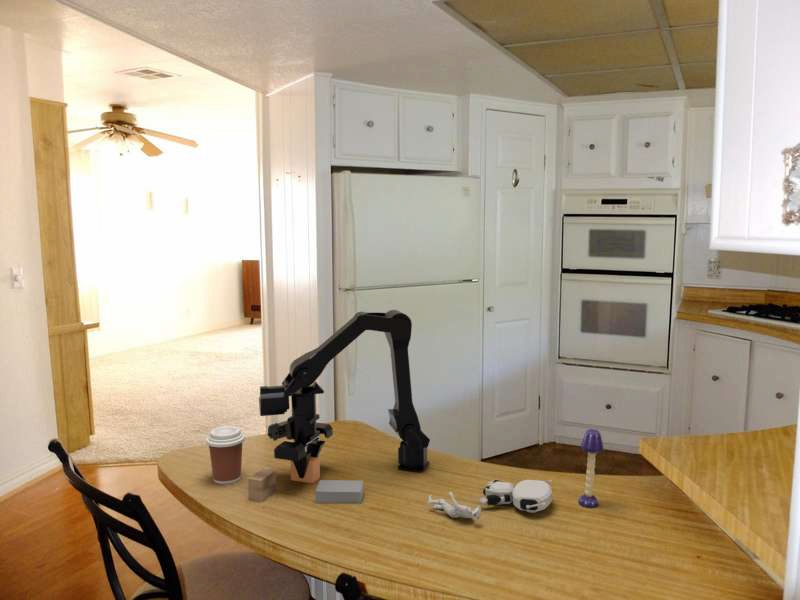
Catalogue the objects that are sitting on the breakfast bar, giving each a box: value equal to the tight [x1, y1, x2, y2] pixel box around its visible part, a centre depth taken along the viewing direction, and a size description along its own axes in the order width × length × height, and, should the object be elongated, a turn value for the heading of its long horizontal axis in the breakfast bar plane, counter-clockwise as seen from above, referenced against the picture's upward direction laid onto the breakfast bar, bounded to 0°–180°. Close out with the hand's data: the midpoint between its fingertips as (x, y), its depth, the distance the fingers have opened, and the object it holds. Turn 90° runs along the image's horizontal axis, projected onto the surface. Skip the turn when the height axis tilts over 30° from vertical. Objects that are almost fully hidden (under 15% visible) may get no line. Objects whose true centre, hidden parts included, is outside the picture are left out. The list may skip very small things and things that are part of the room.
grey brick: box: [314, 479, 365, 504], centre depth 142 cm, size 10×6×3 cm, turn 87°
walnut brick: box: [247, 468, 277, 503], centre depth 143 cm, size 6×3×5 cm, turn 160°
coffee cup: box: [205, 425, 246, 485], centre depth 152 cm, size 9×9×12 cm
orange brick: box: [289, 457, 321, 485], centre depth 152 cm, size 6×3×5 cm, turn 70°
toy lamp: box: [578, 428, 604, 509], centre depth 137 cm, size 5×5×17 cm
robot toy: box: [479, 479, 553, 514], centre depth 138 cm, size 12×4×15 cm
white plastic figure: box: [427, 491, 482, 521], centre depth 133 cm, size 8×5×12 cm
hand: (305, 474), depth 152 cm, fingers closed on orange brick, 3 cm apart
